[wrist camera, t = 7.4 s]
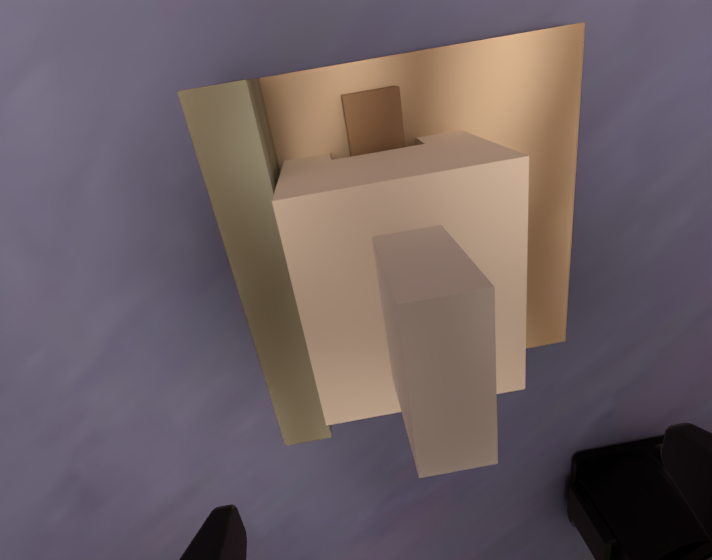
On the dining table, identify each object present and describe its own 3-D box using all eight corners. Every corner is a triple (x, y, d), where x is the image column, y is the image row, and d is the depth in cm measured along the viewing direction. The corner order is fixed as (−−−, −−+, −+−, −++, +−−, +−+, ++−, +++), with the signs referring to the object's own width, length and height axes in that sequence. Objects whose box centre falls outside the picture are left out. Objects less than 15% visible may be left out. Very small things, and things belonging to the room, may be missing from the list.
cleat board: (563, 26, 17) (651, 9, 13) (550, 325, 23) (607, 386, 19) (212, 86, 17) (177, 91, 13) (290, 373, 23) (285, 445, 19)
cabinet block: (460, 129, 17) (624, 192, 8) (469, 306, 21) (591, 486, 12) (284, 160, 17) (254, 258, 8) (322, 332, 21) (330, 535, 12)
